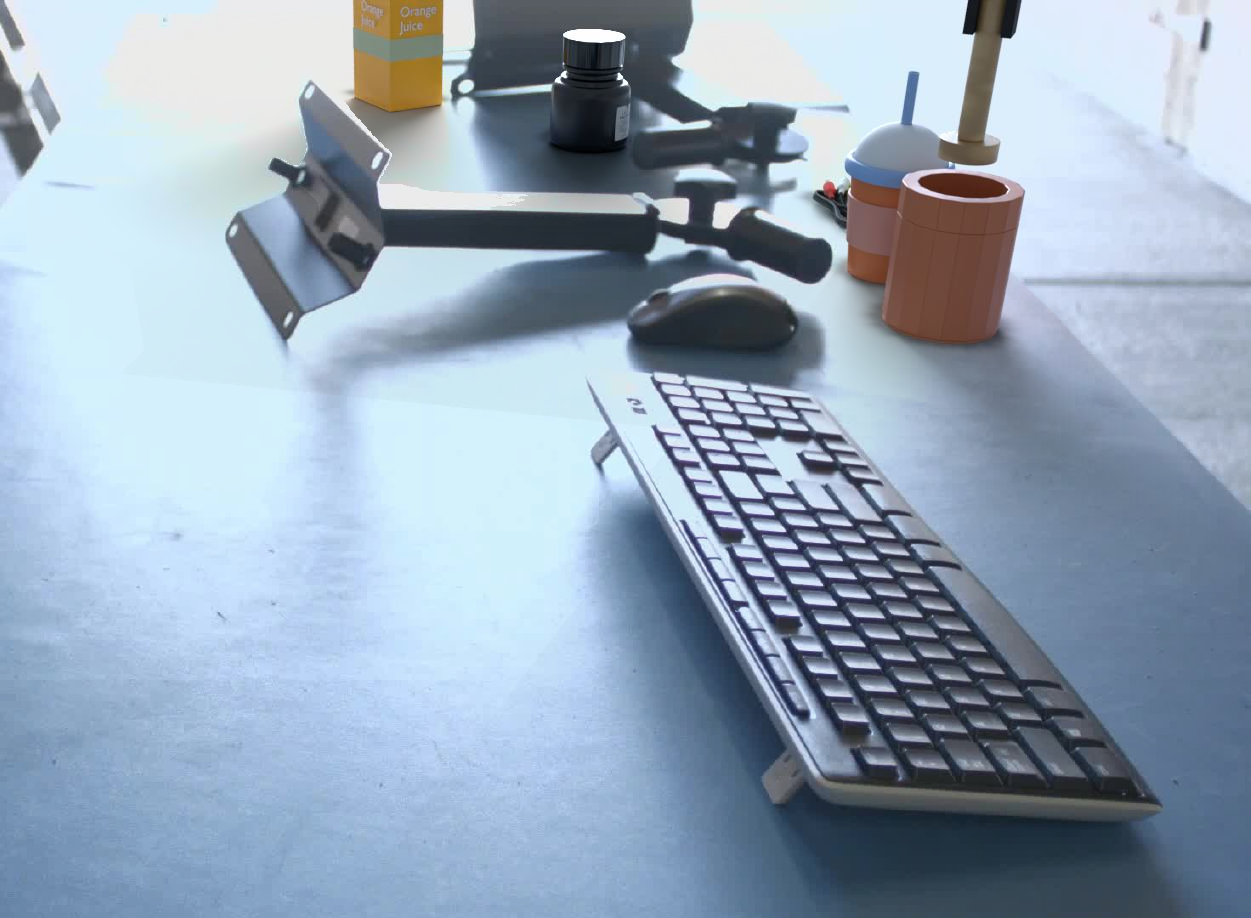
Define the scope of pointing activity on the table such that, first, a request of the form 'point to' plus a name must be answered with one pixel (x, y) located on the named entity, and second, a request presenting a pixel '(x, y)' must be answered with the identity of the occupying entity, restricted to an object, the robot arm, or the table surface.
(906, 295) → the jar
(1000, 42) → the brass-colored tamper
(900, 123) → the cup with straw
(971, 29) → the robot arm
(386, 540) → the table surface
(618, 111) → the ink bottle
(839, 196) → the composite cable
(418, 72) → the orange juice
